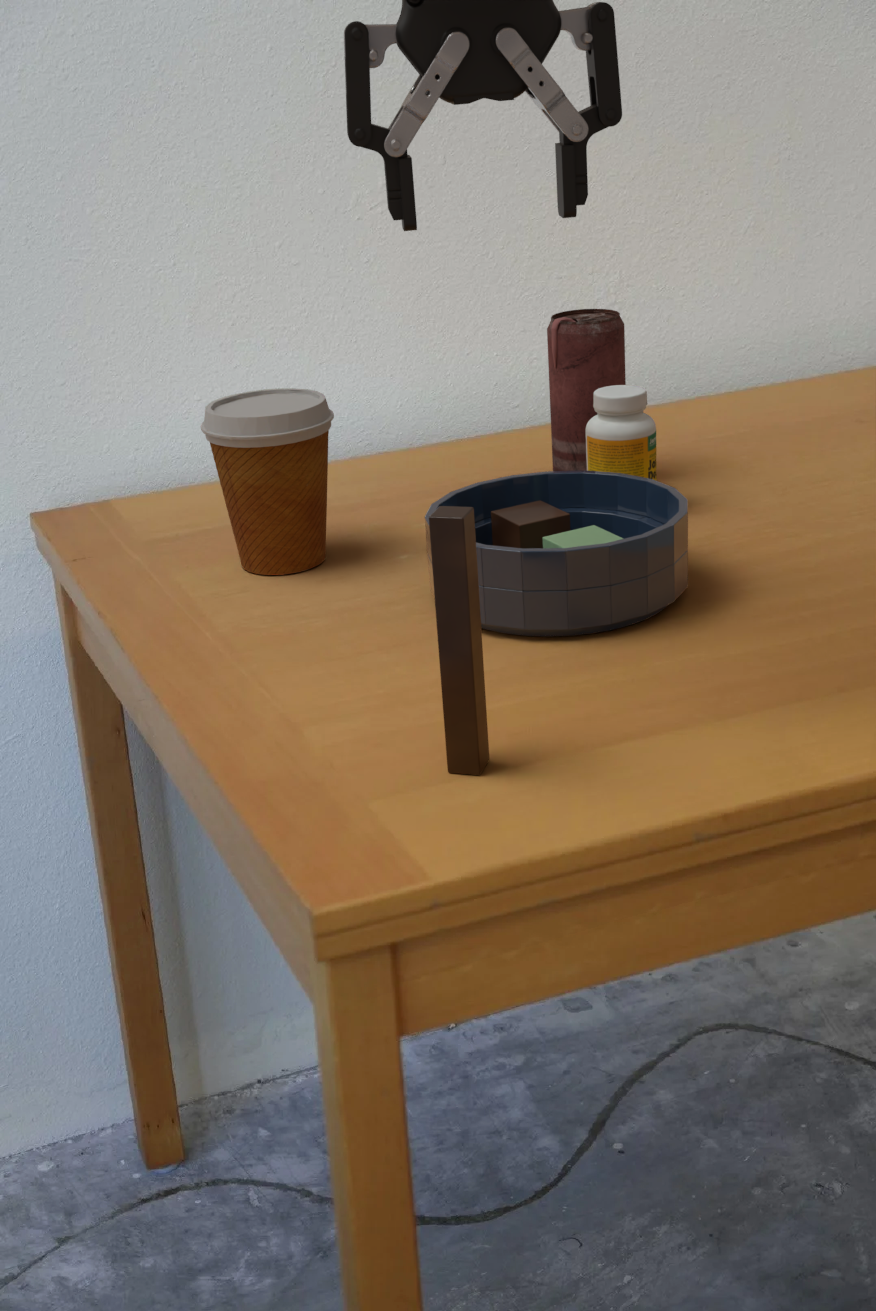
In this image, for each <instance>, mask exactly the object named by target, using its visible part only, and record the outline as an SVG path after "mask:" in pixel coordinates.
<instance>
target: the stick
mask: <svg viewBox="0 0 876 1311" xmlns="http://www.w3.org/2000/svg"><path fill="white" fill-rule="evenodd" d="M429 529H430V542H431V556H432V569H433V582H434V595H435V599H434V608H435V620H436V633H437V634H436V635H437V646H438V659H439V660H438V661H439V674H440V687H441V688H440V689H441V699H442V700H441V701H442V713H443V714H442V715H443V727H444V740H445V754H446V755H445V756H446V765H447V766H446V767H447V773H449V774H462V775H472V776H480V775H482V773H483V772H484V770H485V768H486V766H487V765H488V763H489V762H490V747H489V730H488V729H489V728H488V716H487V714H488V713H487V696H486V683H485V664H484V650H483V635H482V633H483V632H482V628H481V616H480V600H479V584H478V568H477V552H476V536H475V520H474V508H473V507H456V506H439V507H438V508H437V509H436V510H435V511H434V512H433V513H432V514H431V515H430V516H429Z"/></svg>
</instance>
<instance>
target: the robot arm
mask: <svg viewBox="0 0 876 1311" xmlns="http://www.w3.org/2000/svg"><path fill="white" fill-rule="evenodd" d="M615 20H616V18H615V11H614V8H613V6H612V5H611V4H610V3H608V2H605V1H604V2H603V1H596V2H592V3H590V4H588V5H587V6H584V7H583V6H582V7H577V8H570V9H563V10H559V9H558V7H557V5H556V4H555V2H554V0H401V8H400V14H399V17H398V19H397V22H396V23H380V24H379V23H373V24H372V23H371V24H370V23H369V24H368V23H367V24H365V23H364V22H361V21H358V20H355V21H352V22H349V23H348V24H347V25H346V26H345V27H344V30H343V48H344V50H343V51H344V78H345V79H344V80H345V82H344V83H345V105H346V106H345V108H346V132H347V133H346V134H347V137H348V139H349V142H350V143H351V144H352V145H353V146H355V147H358V148H360V147H361V148H363V149H366V150H369V151H373V152H376V153H378V154H379V155H380V156H381V157H382V161H383V166H384V167H383V168H384V178H385V190H386V202H387V210H388V211H389V214H390V216H391V218H392V220H393V221H401V227H402V231H403V232H410V231H411V232H412V231H418V224H417V223H418V222H417V210H416V196H415V195H416V194H415V185H414V184H415V183H414V170H413V158H412V156H411V155H410V154H408V148H409V146H410V145H411V143H412V141H413V140H414V138H415V137H416V136H417V133H418V132H419V130H420V128H421V127H422V125H423V123H424V122H425V121H426V119H428V117H429V115H430V114H431V112H432V110H433V108H434V107H435V106H436V103H437V102H438V100H439V99H440V100H441V101H443V102H446V103H449V104H452V105H453V106H456V105H457V106H458V105H468V104H473V103H474V102H477V101H480V100H484V99H487V100H492V101H496V102H506V101H515V99H516V98H518V97H520V96H521V95H522V94H524V93H525V94H526V95H527V96H528V97H529V98H530V100H531V101H532V102H533V104H534V105H535V106H536V108H538V109H539V110H540V111H541V112H542V113H543V114H544V116H545V117H546V118H547V120H548V122H550V123H551V125H552V126H553V127H554V129H555V130H556V131H557V133H558V138H559V141H558V142H555V143H554V148H555V151H554V153H555V154H554V155H555V175H556V176H555V178H556V198H557V200H556V201H557V212H558V216H559V217H560V218H562V219H570V218H576V217H577V213H578V207H577V206H585V205H586V202H587V199H588V196H589V184H588V183H589V182H588V152H587V147H588V142H589V140H590V139H591V138H592V137H593V136H594V135H595V134H597V133H599V132H602V131H603V130H605V129H607V128H609V127H611V128H612V127H615V126H617V125H618V124H619V123H620V122H621V120H622V117H623V104H622V94H621V80H620V70H619V58H618V56H619V55H618V46H617V45H618V44H617V35H616V32H617V30H616V21H615ZM561 31H563V32H565V33H567V34H568V35H569V36H570V39H571V43H572V46H573V47H574V48H575V49H576V50H578V51H583V52H585V59H586V71H587V80H588V81H587V82H588V92H589V103H590V105H589V106H587V107H585V108H583V109H581V110H577V109H576V107H575V106H574V105H573V103H572V102H571V101H570V100H569V99H568V97H567V96H566V94H565V92H564V91H563V89H562V88H561V86H560V85H559V84H558V83H557V81H556V80H555V78H554V77H553V76H552V75H551V74H550V73H549V71H548V70H547V69H546V68H545V66H544V65H543V63H544V62H545V60H546V58H547V56H548V55H549V53H550V51H551V50H552V48H553V46H554V45H555V43H556V41H557V40H558V38H559V36H560V34H561ZM394 44H396V45H397V48H398V49H399V51H400V52H401V53H402V54H403V55H404V57H405V58H406V60H407V61H408V62H409V63H410V65H411V66H412V67H413V69H414V70H415V71H416V72H417V73H418V76H417V78H416V79H415V82H414V83H413V84H412V86H411V88H410V89H409V91H408V93H407V95H406V96H405V98H404V100H403V101H402V104H401V105H400V108H399V109H398V110H397V113H396V114H395V115H394V117H393V119H392V121H391V123H390V124H389V126H388V127H386V126H385V127H384V126H382V125H378V124H374V123H372V102H371V99H372V97H371V69H376V68H378V67H380V66H381V65H383V63H384V62H385V54H386V51H387V50H388V49H389V47H390V46H392V45H394Z"/></svg>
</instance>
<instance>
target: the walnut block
mask: <svg viewBox="0 0 876 1311" xmlns="http://www.w3.org/2000/svg"><path fill="white" fill-rule="evenodd" d="M491 522H492V540H493V546H503V547H513V548H523V549H529V548H543V539H542V538H543V537H545V536H550V535H554V534H558V533H562V532H567V531H570V514H569V513H567V512H565V511H562V510H560V509H558V508H556V507H554V506H551V505H549V504H547V503H545V502H543V501H541V500H539V501H535V502H530V503H526V504H522V505H517V506H513V507H508V508H504V509H499V510H495V511H491Z"/></svg>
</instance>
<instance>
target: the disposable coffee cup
mask: <svg viewBox="0 0 876 1311" xmlns="http://www.w3.org/2000/svg"><path fill="white" fill-rule="evenodd" d="M203 417H204V418H203V422H201V424H200V430H201V431H202V433H203V434H204V436H205V439H206V441H207V442H209V446H210V448H211V453H212V457H213V460H214V464H215V468H216V472H217V476H218V480H219V484H220V487H221V491H222V495H223V499H224V502H225V507H226V510H227V516H228V518H229V521H230V526H231V529H232V533H233V536H234V542H235V544H236V548H237V553H238V556H239V561H240V565H241V568H242V569H243V570H245V571H247V572H248V573H253V574H256V575H263V576H284V575H290V574H296V573H300V572H305V571H307V570H310V569H313V568H315V567H318V566H319V565H321V564H322V563H323V562H324V561H326V558H327V513H328V512H327V511H328V476H329V473H328V472H329V468H328V467H329V433H330V429H331V427H332V421H333V419H334V418H335V413H334V411H333V410H332V409H330V407H329V404H328V401H327V398H326V395H325V394H324V393H322V392H320V391H317V390H313V389H307V388H291V387H289V388H287V387H286V388H285V387H284V388H280V387H279V388H266V389H265V388H264V389H256V390H250V391H243V392H238V393H234V394H230V395H226V396H223V397H219V398H217V399H214V400H212V401H210V402H209V403H208V404H207V405H205V409H204V416H203Z"/></svg>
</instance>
